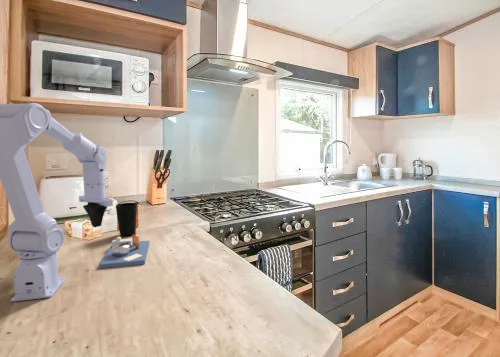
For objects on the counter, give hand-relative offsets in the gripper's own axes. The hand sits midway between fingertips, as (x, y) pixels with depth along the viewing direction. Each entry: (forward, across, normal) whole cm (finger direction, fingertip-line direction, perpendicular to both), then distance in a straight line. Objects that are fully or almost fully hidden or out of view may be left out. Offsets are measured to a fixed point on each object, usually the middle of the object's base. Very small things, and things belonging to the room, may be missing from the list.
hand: (96, 226), depth 90 cm
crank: (+8, -8, -4) cm, 12 cm away
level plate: (+9, -8, -5) cm, 13 cm away
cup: (+10, +10, -18) cm, 23 cm away
